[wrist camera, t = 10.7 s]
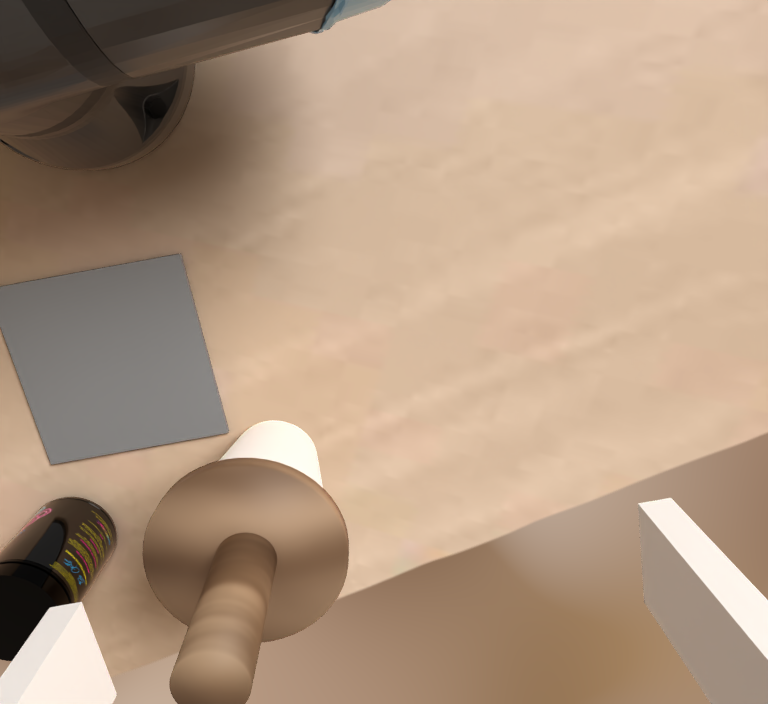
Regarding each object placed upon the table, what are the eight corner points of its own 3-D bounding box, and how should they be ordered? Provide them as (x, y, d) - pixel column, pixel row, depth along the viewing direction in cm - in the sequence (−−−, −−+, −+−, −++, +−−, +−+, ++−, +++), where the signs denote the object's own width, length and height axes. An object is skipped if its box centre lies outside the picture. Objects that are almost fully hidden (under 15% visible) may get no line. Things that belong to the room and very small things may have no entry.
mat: (-11, 288, 44) (-14, 289, 44) (180, 253, 44) (179, 254, 44) (53, 462, 48) (51, 464, 48) (229, 430, 48) (228, 432, 48)
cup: (201, 483, 50) (154, 579, 38) (243, 387, 47) (206, 457, 36) (305, 524, 51) (290, 628, 39) (351, 432, 49) (349, 513, 37)
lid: (124, 477, 36) (33, 597, 26) (327, 440, 36) (315, 547, 26) (179, 643, 39) (119, 807, 29) (365, 611, 39) (367, 763, 29)
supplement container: (74, 476, 49) (1, 555, 39) (138, 531, 51) (84, 621, 41) (17, 527, 50) (-68, 616, 40) (82, 579, 52) (15, 678, 42)
